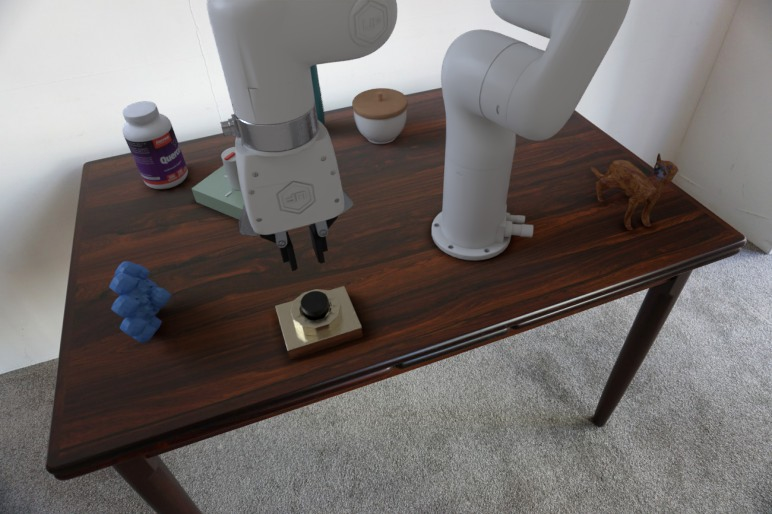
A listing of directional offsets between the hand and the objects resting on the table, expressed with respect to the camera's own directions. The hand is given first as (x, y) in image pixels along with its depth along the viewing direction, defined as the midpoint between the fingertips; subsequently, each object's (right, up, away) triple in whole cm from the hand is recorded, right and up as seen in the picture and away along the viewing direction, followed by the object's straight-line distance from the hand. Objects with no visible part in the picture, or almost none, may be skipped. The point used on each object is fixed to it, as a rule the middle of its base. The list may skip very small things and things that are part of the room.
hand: (305, 258), depth 62 cm
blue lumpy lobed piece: (-22, -10, +10) cm, 26 cm away
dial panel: (-15, +11, +31) cm, 36 cm away
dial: (-15, +13, +28) cm, 35 cm away
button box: (0, -9, +9) cm, 13 cm away
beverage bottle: (-6, +26, +46) cm, 53 cm away
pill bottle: (-31, +15, +36) cm, 50 cm away
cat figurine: (+49, +9, +26) cm, 56 cm away
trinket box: (+9, +25, +44) cm, 51 cm away
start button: (0, -7, +7) cm, 10 cm away
